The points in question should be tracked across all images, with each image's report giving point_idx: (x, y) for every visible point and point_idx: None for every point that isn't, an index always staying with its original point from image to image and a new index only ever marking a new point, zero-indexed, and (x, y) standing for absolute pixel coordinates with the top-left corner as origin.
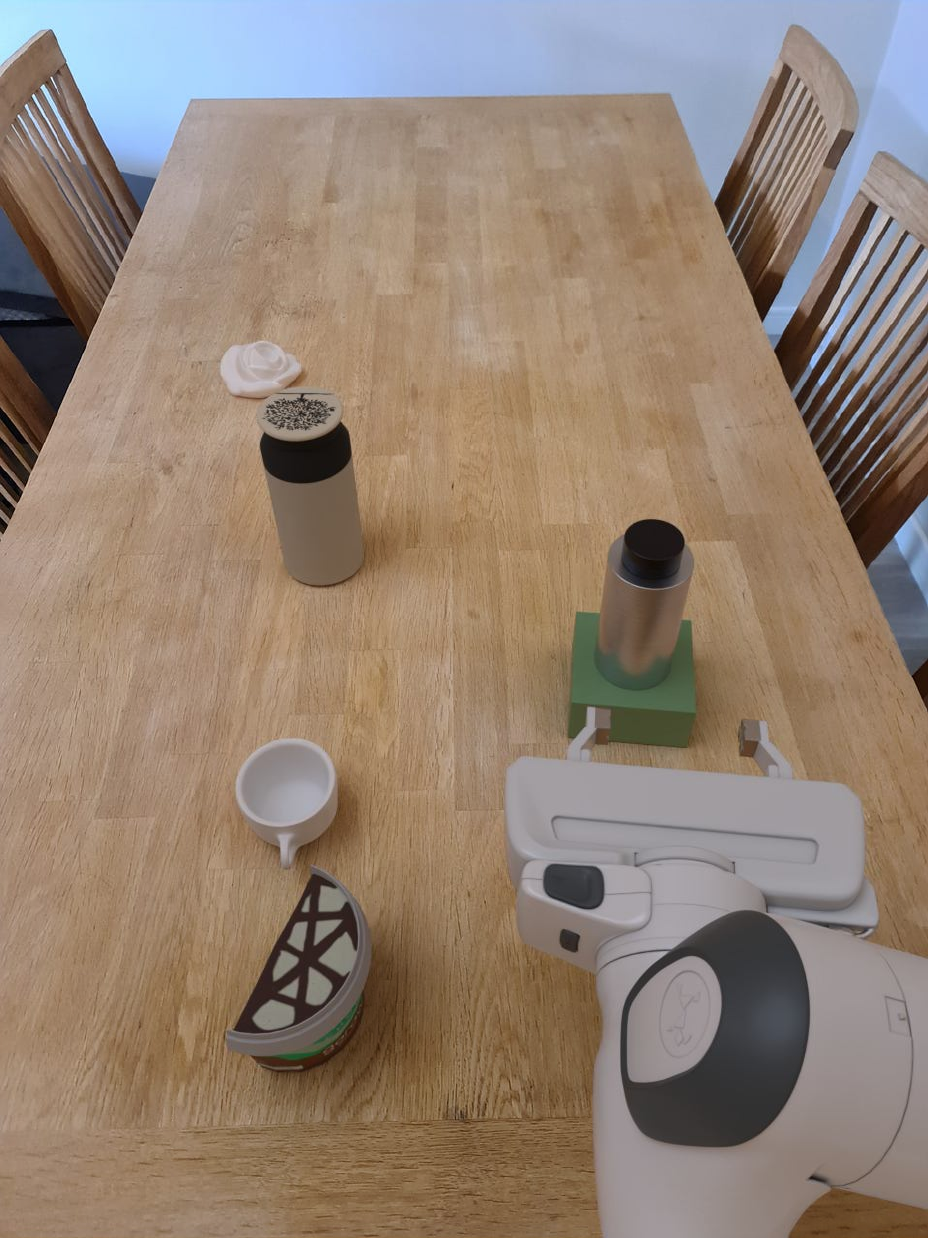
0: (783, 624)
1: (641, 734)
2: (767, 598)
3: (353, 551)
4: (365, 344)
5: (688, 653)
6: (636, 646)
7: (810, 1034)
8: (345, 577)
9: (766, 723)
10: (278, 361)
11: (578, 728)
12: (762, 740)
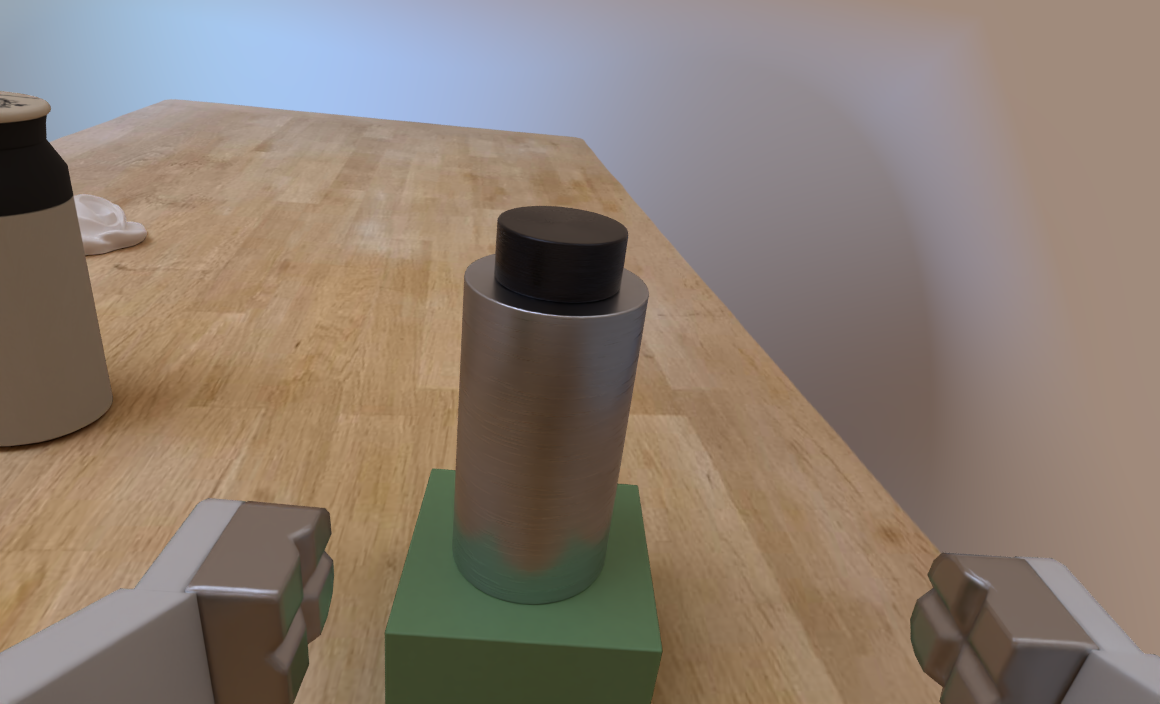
0: (776, 517)
1: None
2: (744, 482)
3: (68, 388)
4: (243, 229)
5: (637, 536)
6: (529, 486)
7: None
8: (49, 435)
9: (1061, 566)
10: (109, 217)
11: (407, 701)
12: (1107, 644)
